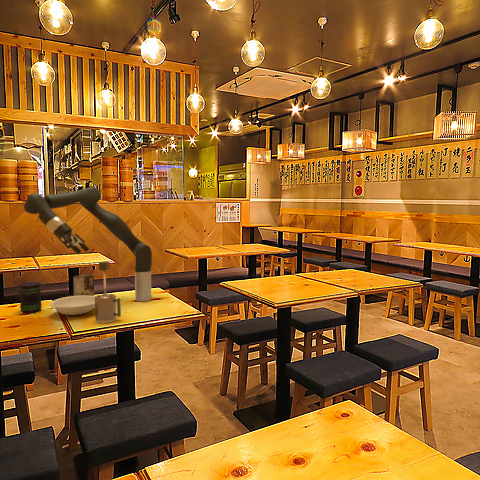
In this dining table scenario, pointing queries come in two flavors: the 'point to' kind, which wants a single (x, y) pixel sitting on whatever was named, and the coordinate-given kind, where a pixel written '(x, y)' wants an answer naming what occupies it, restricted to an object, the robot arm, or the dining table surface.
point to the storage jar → (30, 297)
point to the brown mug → (107, 308)
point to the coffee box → (83, 285)
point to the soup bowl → (74, 304)
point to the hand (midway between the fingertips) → (83, 251)
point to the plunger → (104, 267)
